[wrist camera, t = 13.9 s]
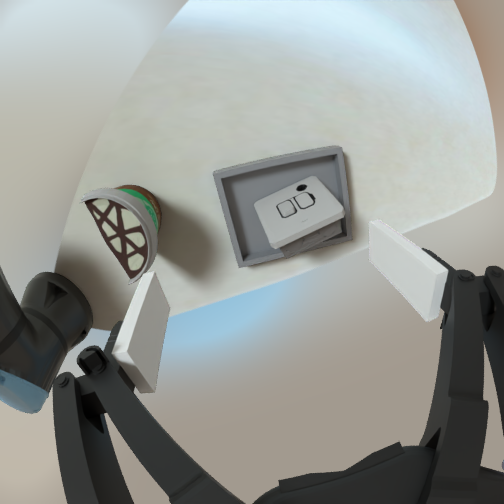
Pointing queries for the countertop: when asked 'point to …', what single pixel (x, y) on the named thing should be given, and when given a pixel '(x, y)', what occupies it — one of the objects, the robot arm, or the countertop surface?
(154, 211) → the food container
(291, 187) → the electrical switch
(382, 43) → the countertop surface
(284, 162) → the back box
